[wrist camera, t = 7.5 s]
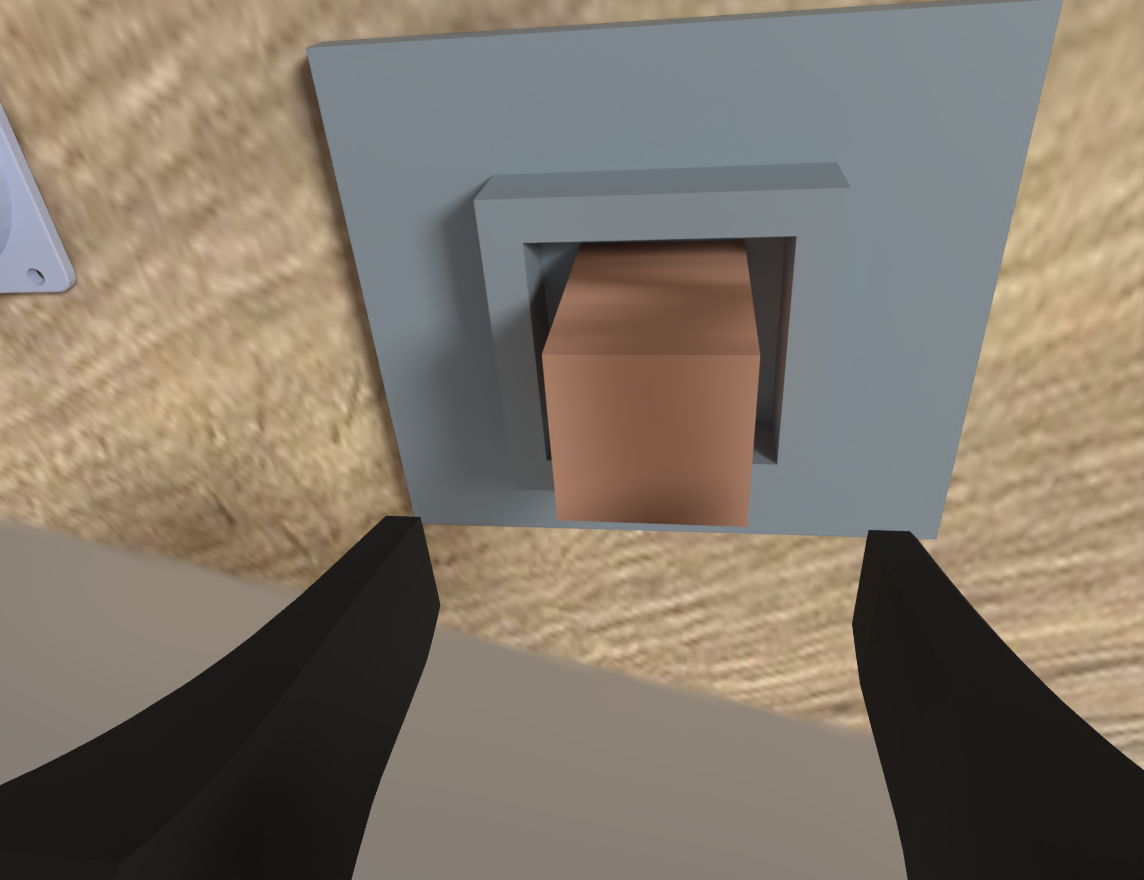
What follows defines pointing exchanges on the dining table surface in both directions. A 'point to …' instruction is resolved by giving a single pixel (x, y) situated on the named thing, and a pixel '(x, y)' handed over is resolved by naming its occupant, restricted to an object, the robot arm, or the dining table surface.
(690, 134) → the base board
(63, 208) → the dining table surface
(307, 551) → the dining table surface
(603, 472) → the terracotta block
